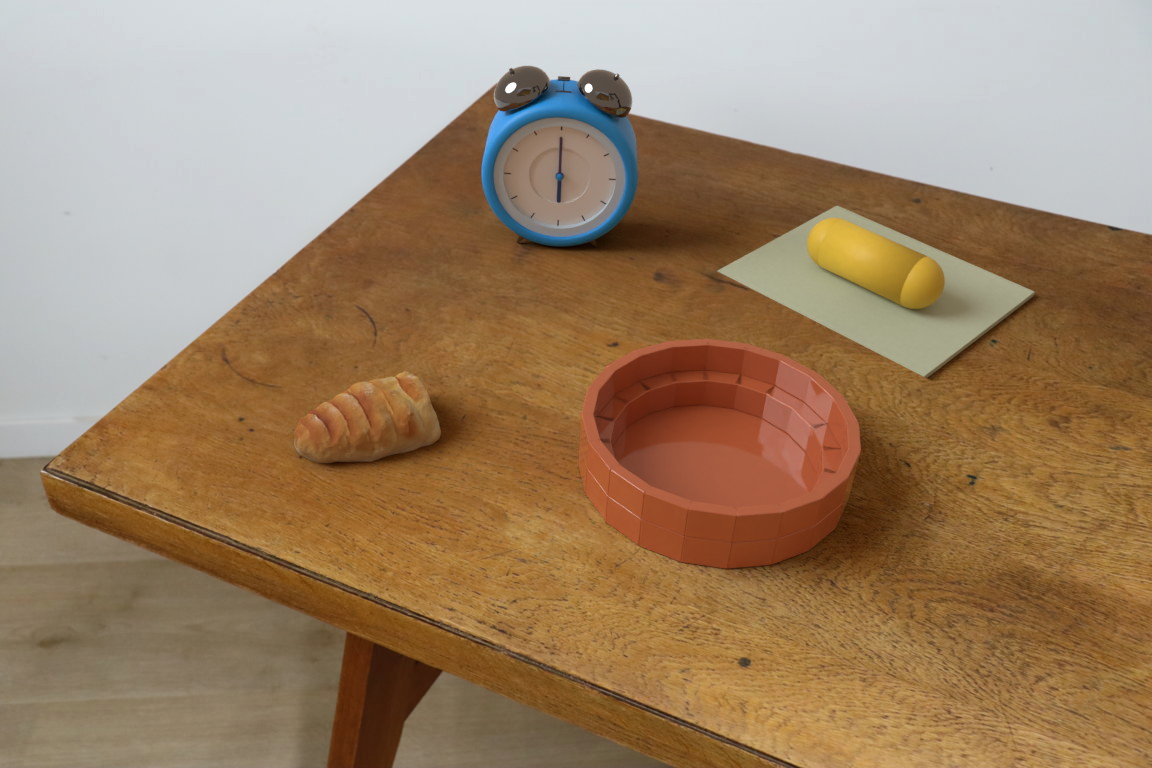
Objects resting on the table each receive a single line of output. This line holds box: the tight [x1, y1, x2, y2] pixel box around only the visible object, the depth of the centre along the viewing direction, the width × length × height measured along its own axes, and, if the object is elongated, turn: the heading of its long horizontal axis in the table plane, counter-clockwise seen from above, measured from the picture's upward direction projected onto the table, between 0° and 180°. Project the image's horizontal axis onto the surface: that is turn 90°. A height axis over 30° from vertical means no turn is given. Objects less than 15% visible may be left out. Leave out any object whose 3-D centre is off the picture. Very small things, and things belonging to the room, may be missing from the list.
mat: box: [717, 205, 1036, 379], centre depth 93 cm, size 20×20×1 cm
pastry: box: [293, 370, 442, 464], centre depth 74 cm, size 9×7×4 cm
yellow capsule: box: [807, 218, 945, 309], centre depth 92 cm, size 12×4×4 cm, turn 45°
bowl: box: [577, 338, 862, 570], centre depth 72 cm, size 18×18×5 cm
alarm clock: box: [480, 65, 639, 248], centre depth 94 cm, size 13×6×15 cm, turn 88°
